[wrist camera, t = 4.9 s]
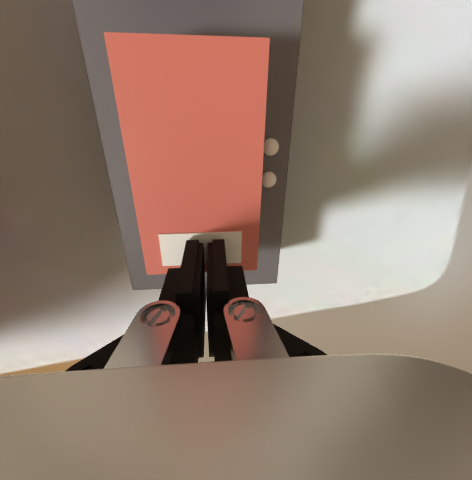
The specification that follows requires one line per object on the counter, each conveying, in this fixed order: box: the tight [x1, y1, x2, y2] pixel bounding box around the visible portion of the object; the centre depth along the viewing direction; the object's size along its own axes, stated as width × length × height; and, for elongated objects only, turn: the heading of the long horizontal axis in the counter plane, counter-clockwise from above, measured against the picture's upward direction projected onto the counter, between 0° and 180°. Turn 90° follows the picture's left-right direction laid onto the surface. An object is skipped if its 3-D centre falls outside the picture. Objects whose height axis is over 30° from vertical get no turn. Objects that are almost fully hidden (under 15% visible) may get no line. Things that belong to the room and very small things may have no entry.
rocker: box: [104, 32, 270, 275], centre depth 11 cm, size 9×5×2 cm, turn 179°
